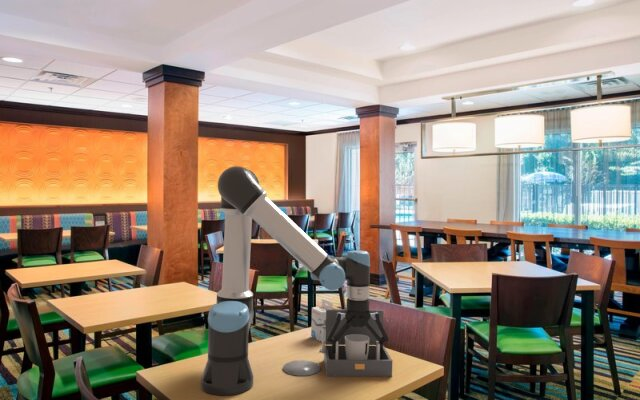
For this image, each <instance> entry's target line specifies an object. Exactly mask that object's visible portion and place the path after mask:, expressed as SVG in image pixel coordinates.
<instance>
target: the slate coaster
mask: <svg viewBox="0 0 640 400" xmlns="http://www.w3.org/2000/svg"><path fill="white" fill-rule="evenodd" d="M282 367H283V368H282V369H283V372H285V373H286V374H288V375H291V376H296V377H297V376H298V377H308V376H313V375H316V374H318V373H319V372H320V371H321V365H319V363H317V362H315V361H312V360H302V359H301V360H300V359H299V360H292V361H289V362H286V363H285V364H283V366H282Z"/></svg>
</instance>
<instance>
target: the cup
mask: <svg viewBox="0 0 640 400" xmlns="http://www.w3.org/2000/svg"><path fill="white" fill-rule="evenodd" d="M369 339H370V338H369V337H368V336H366V335H362V334H350V335H346V336H345V351H346V358H347V360H367V357H368V351H369V346H370V345H369Z"/></svg>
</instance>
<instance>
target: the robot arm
mask: <svg viewBox="0 0 640 400" xmlns="http://www.w3.org/2000/svg"><path fill="white" fill-rule="evenodd" d="M217 190H218V193H219V195H220V210H221V211H222V213H224V214H225V216H224V234H223V235H224V237H223V255H222V256H223V257H222V258H223V260H222V277H221V278H222V280H221V289H220V290H219V291H218V292H217V293H216V303H214V304H213V305H212V306H211V307H210V308H209V311H208V316H207V323H208V328H207V330H208V331H207V332H208V333H207V334H208V335H207V336H208V337H207V360H206V364H205V367H204V370H203V373H202V376H201V380H200V381H201V382H200V389H201V390H202V391H204V392H205V393H208V394H210V395H215V396H233V395H237V394H241V393H242V394H243V393H244V392H247V391H249V390H250V389H251V388H252V387H253V386H254V373H253V369H252V367H251V364H250V360H249V331H250V327H251V324H252V322H253V320H254V314H255V312H254V307H253V306H254V292H252V291H251V290H250V270H251V269H250V268H251V267H250V266H251V250H252V249H251V248H252V247H251V246H252V224H253V222H252V221H254V222H255V223H257V225H259V226H260V227H261V228H262V229H263V230H264V231H265V232H266V233H267V234H268V235H269V236H271V237H272V238H273V239H274V240H275V241H276V242H277V243H278V244H279V245H280V246H282V248H283V249H285V250H286V251H287V252H288V253H289V254H290V255H291V256H292V257H293V258H294V259H295V260H296V261H298V263H300V264H301V265H302V266H303V267H304V268H305V269H306V270H307V271H308V272H309V273H310V278H311V280H313V281H319V283H320V284H321V286H322V287H323V288H325V289H326V290H329V291H337V290H339V289H340V288H342V287H343V285H344V283H345V281H346V297H347V298H346V308H345V310H346V313H340V312H337V316H336V320H335V322H334V324H333V326H332V328H331V330H330V331H329V333H328V335H327V341H328V342H331V343H332V352H333V353H335V360H338V342H337V341H338V340H339V339H340V337H341V336H342V335H343V334H344V333H345V332H346V331H347V329H349V328H350V326H353V327H363V326H366V327H367V328H368V329H369V330H370V331H371V333H372V334H373V335H374V336H375V337H376V339H377V340H378V341H379V342H378V341H376V345H375V346H376V360H380V353H382V352H383V346H384V343H385V342H389V340H390V339H389V337H388V334H387V333H386V330H385V329H384V325H383V326H382V324H381V322H380V320H379V314H378V313H377V312H375V313H370V312H369V310H370V299H369V298H370V293H371V292H370V291H371V290H370V283H371V282H370V281H371V260H370V258H371V256H370V253H369V252H368V251H366V250H360V249H359V250H357V249H356V250H349V251H347V254H346V256H340V257H339V256H330V255H329V254H328V253H327V252H326V251H325V250H324V249H323V248H322V247H321V246H319V245H318V244H317V243H316V242H315V241H314V239H312V238H311V237H310V236H309V235H308V234H307V233H306V232H304V230H303V229H301V228H300V227H299V226H298V225H297V224H296V223H295V222H294V221H293V220H292V218H290V217H289V216H288V215H287V214H285V213H284V211H282V210H281V209H280V208H279V207H278V206H277V205H276V204H275V203H274V202H273V201H272V200H270V199H269V198H268V197H267V196H268V195H267V191H266V190H265V189H264V188H263V187H262V186H261V185H260V182H259V179H258V177H257V174H255V173H254V172H253V171H252V170H250V169H249V168H246V167H243V166H239V165H238V166H237V165H235V166H230V167H228V168H226V169H225V170H223V171H222V173H221V174H220V175H219V177H218V180H217ZM344 317H345V318H346V319H347V321H346V323H345V324H344V326H343V327H342V328H341V329H340V330H339V331H338V332H337V334H336V335H335V336H334V337H333V335H334V333H335V331H336V329H337V327H338V325H339V323H340V320H342V319H343V318H344ZM371 317H372V318H373V319H374V320H375V321H376V323H377V325H378V327H379V329H380V331H381V333H382V335H383V337H382V338H381V337H380V336H379V335H378V333H377V332H376V331H375V330H374V329H373V327H372V326H371V325H370V324H369V322H368V321H369V319H370V318H371ZM332 337H333V338H332Z"/></svg>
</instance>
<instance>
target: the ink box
mask: <svg viewBox="0 0 640 400" xmlns="http://www.w3.org/2000/svg"><path fill="white" fill-rule="evenodd" d="M333 305H334V304H333V303H332V302H330V301H329V300H327V299H323V298H322V299H321V306H314V307H311V325H310V326H311V328H310V329H311V332H310V333H311V334H310V335H311V336H312V337H311V336H310V337H311V338H313V337H314V338H313V339H315V340H317V341H318V340H319V342H320V341H321V342H320V343H322V326H326V309H333ZM325 336H326V329H324V343H325Z"/></svg>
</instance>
